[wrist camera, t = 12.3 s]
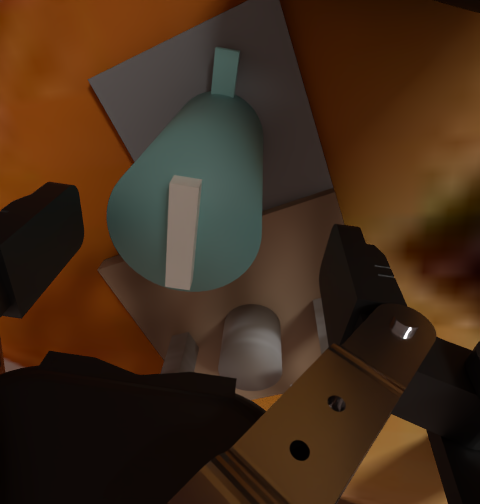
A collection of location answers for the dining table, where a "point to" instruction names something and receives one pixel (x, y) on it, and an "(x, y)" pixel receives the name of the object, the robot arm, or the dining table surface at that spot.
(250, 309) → the square mounting plate
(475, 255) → the dining table surface
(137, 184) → the teal teardrop shape
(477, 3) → the black lumpy shape
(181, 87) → the mat
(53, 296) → the dining table surface
